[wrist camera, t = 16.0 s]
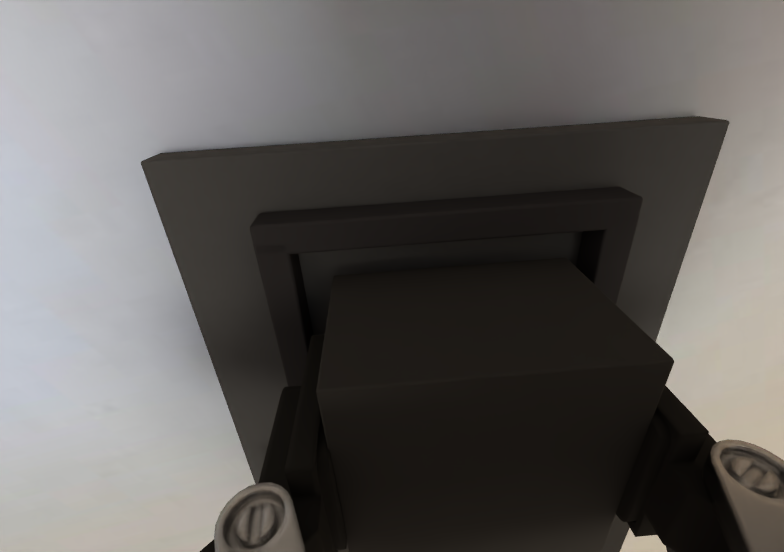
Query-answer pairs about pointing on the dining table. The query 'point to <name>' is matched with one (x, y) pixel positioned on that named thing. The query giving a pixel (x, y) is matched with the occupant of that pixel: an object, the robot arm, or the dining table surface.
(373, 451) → the pad
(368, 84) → the dining table surface
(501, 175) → the base mat
